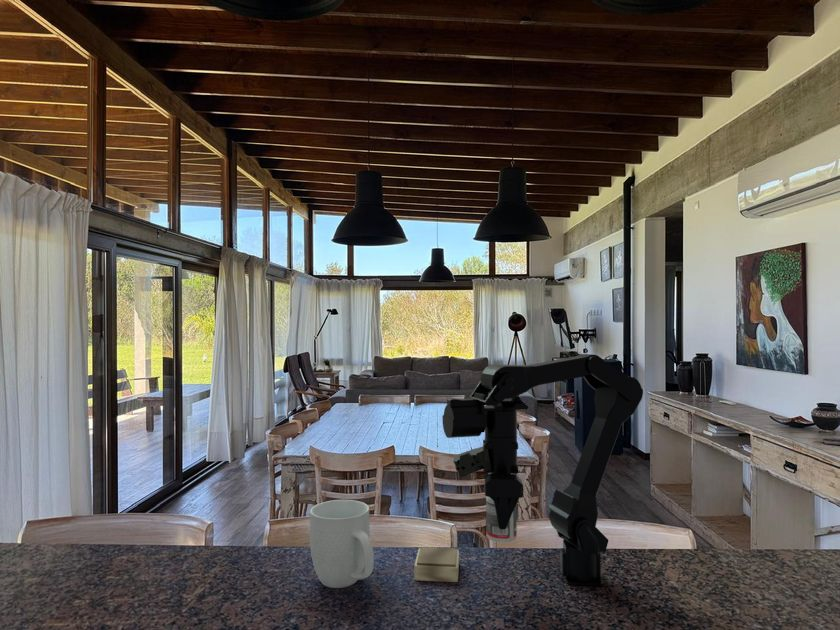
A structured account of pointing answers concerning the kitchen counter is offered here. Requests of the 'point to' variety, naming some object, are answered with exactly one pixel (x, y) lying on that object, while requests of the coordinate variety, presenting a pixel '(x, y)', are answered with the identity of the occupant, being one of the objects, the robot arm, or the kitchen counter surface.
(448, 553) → the plinth
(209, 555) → the kitchen counter surface
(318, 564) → the mug
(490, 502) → the pill bottle
